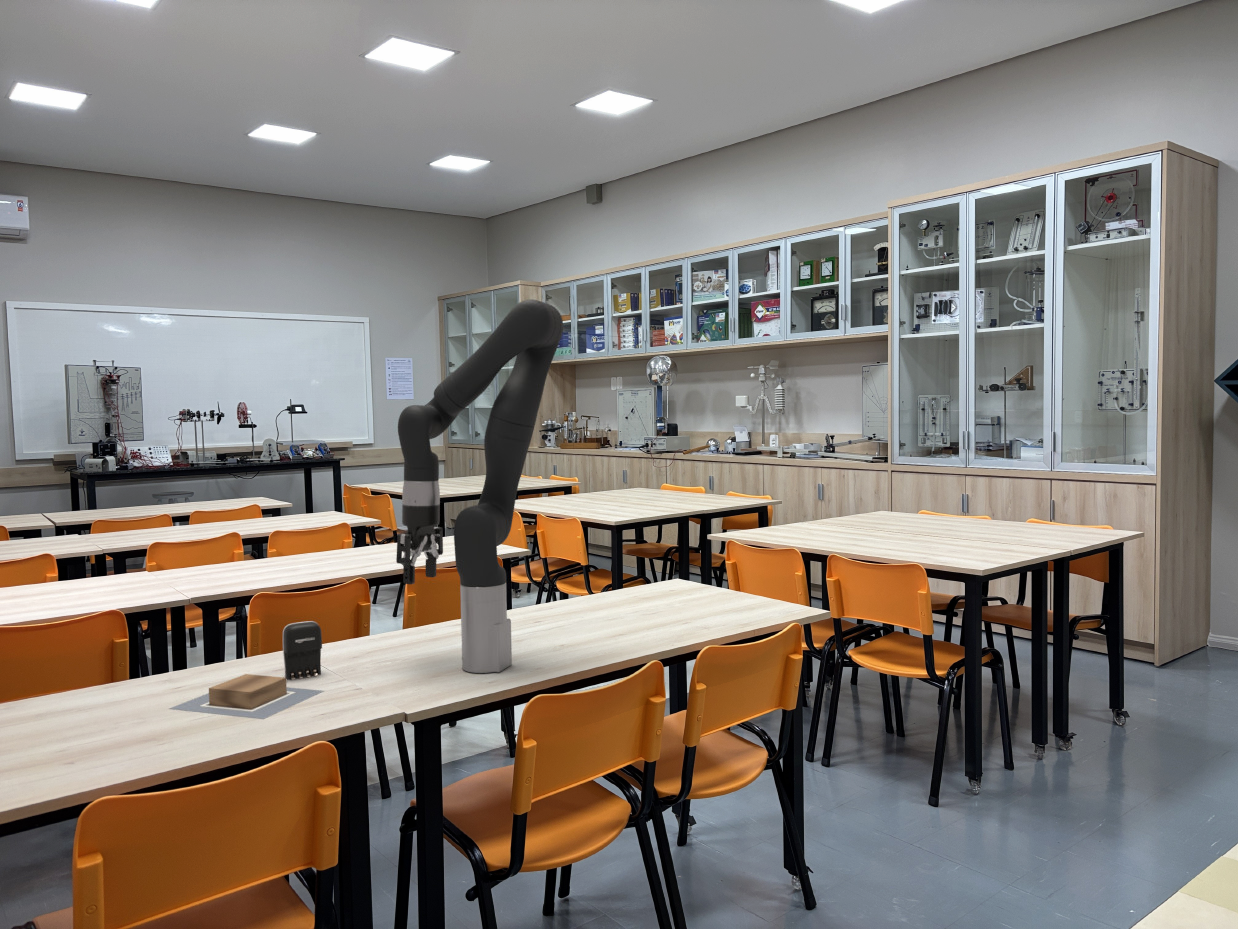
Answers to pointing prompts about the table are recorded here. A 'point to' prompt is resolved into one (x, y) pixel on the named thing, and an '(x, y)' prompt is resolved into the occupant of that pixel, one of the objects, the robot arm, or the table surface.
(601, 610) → the table surface
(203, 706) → the board
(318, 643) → the battery charger
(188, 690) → the table surface
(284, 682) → the base block
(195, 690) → the table surface
